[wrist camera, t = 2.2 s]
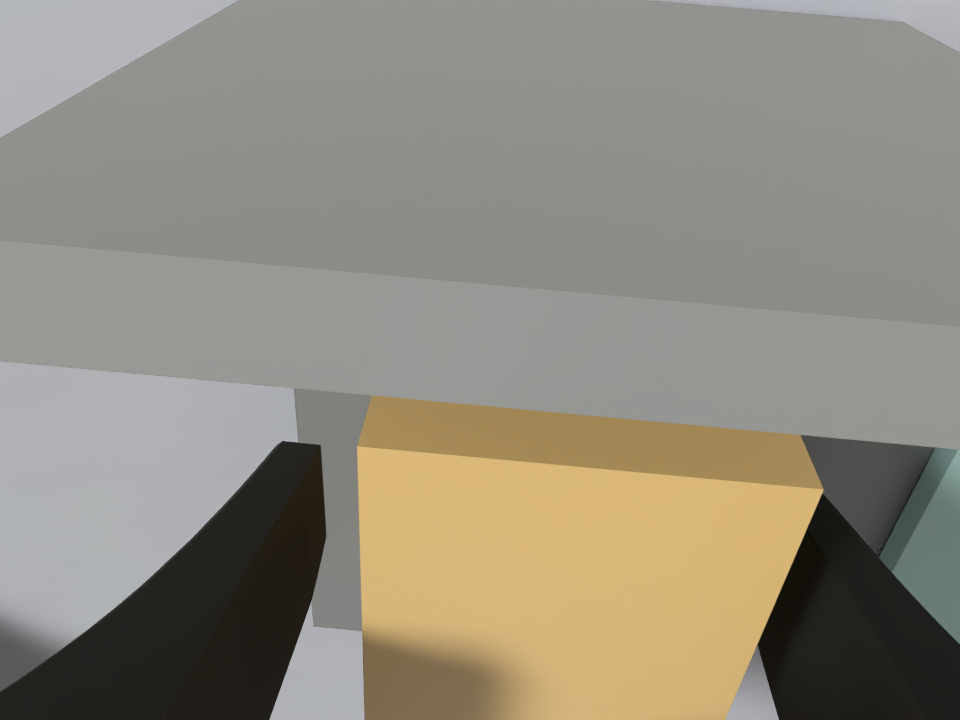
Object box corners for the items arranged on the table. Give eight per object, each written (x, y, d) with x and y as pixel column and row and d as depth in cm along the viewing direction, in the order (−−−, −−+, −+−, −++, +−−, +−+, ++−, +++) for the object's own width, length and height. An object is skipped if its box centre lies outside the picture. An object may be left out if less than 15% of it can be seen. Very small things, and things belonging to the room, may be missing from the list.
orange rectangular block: (621, 532, 18) (660, 871, 12) (423, 513, 18) (368, 841, 12) (700, 201, 13) (823, 489, 8) (435, 178, 13) (356, 446, 8)
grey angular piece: (699, 609, 19) (801, 1114, 12) (328, 574, 19) (193, 1050, 12) (902, 22, 11) (1570, 383, 4) (290, -30, 12) (-155, 226, 4)
